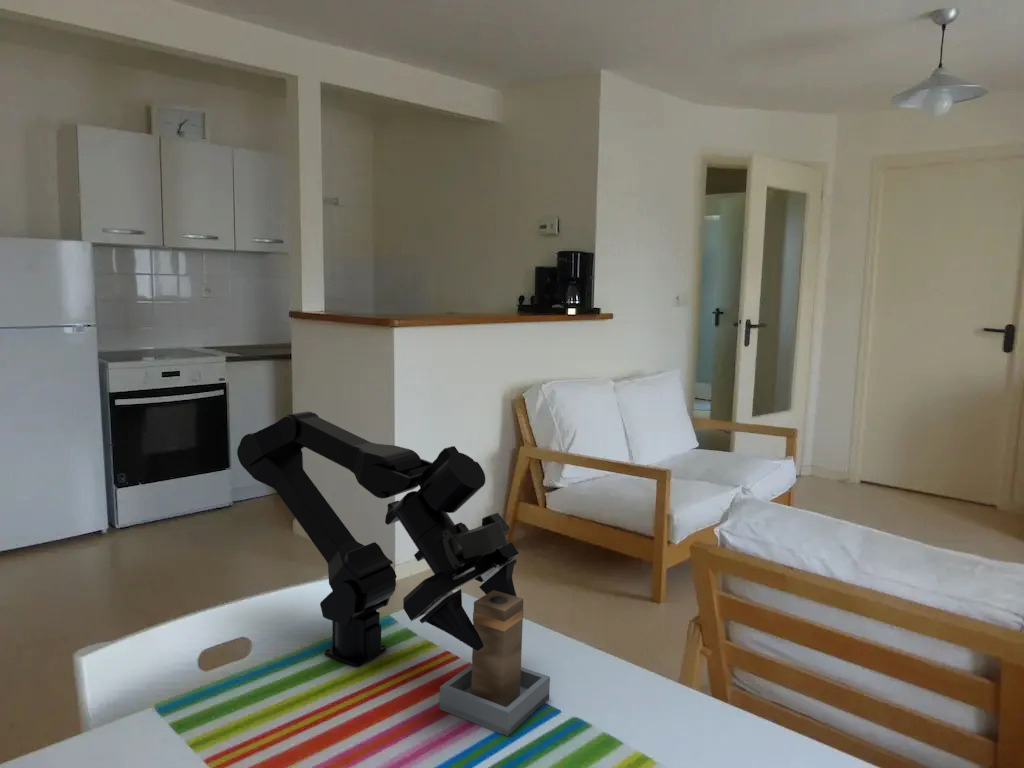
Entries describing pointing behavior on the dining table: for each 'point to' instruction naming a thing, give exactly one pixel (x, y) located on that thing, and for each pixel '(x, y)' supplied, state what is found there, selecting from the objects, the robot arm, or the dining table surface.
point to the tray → (491, 714)
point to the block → (498, 648)
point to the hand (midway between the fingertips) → (501, 634)
